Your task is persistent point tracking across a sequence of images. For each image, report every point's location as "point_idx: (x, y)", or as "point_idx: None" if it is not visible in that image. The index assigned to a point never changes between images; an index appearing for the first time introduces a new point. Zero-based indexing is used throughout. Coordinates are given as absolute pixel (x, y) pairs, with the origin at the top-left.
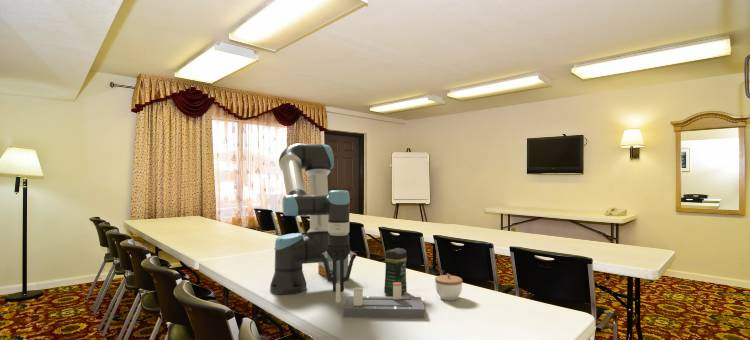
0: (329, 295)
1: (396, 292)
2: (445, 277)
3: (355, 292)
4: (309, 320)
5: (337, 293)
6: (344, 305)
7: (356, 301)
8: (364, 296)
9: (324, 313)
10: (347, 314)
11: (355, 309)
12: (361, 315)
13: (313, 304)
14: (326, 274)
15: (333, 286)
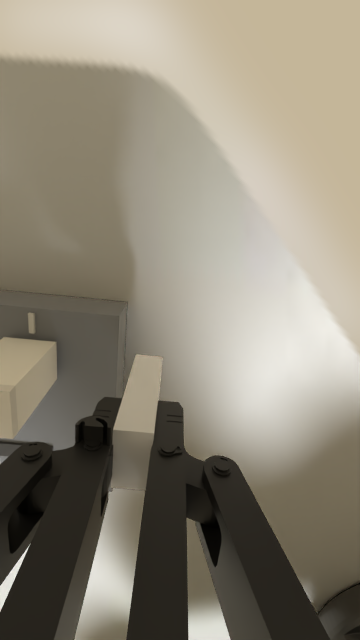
0: None
1: None
2: None
3: (6, 378)
4: (300, 270)
5: (147, 384)
6: (114, 359)
7: (28, 349)
8: None
9: (224, 356)
10: (100, 303)
11: (46, 307)
12: (26, 295)
13: (279, 465)
14: (264, 518)
15: (177, 428)
